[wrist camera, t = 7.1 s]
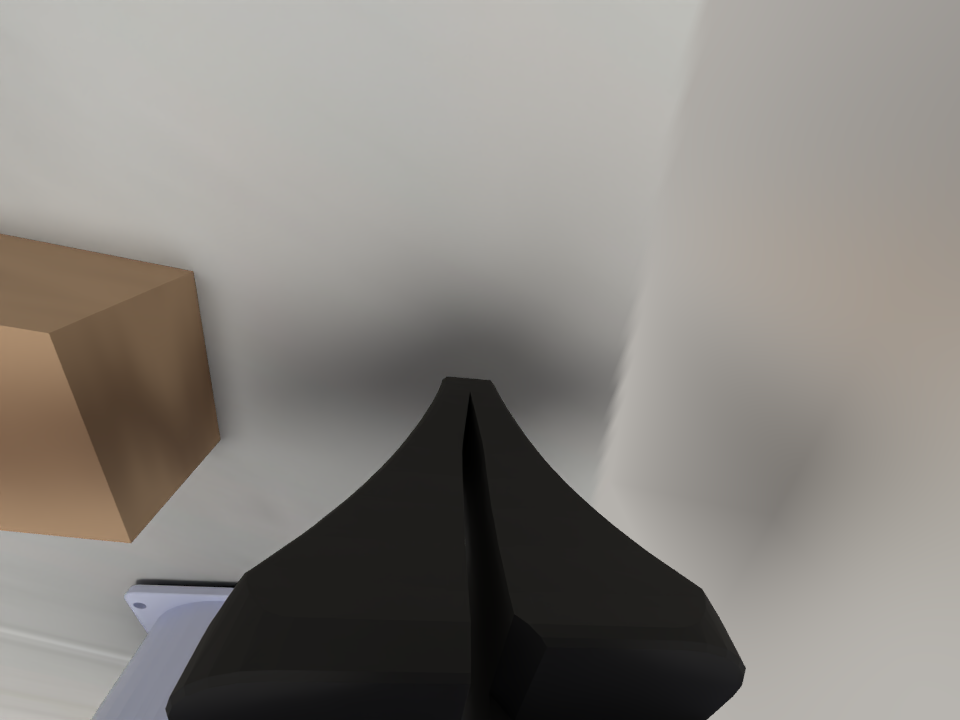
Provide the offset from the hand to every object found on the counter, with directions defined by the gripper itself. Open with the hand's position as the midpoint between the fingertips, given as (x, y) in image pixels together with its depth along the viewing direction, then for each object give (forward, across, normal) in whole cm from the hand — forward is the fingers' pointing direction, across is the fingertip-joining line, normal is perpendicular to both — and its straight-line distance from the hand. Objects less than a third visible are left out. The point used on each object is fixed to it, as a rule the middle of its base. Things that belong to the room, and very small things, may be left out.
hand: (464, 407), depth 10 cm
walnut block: (+2, +11, 0) cm, 11 cm away
